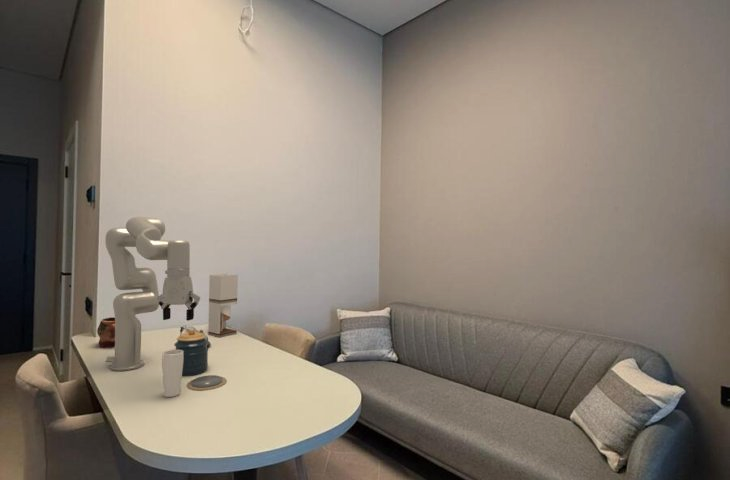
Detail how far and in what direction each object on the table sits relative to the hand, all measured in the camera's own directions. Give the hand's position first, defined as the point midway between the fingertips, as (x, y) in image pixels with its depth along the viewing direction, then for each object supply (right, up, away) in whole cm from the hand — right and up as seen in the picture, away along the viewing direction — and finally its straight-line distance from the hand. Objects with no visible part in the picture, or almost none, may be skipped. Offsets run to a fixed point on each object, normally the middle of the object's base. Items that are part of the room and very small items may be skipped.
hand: (178, 319), depth 140 cm
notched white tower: (-14, -26, +81) cm, 87 cm away
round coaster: (+9, -25, +4) cm, 27 cm away
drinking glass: (+1, -25, -7) cm, 26 cm away
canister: (-4, -26, +18) cm, 31 cm away
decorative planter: (-60, -25, +53) cm, 84 cm away
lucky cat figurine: (-17, -26, +51) cm, 60 cm away
